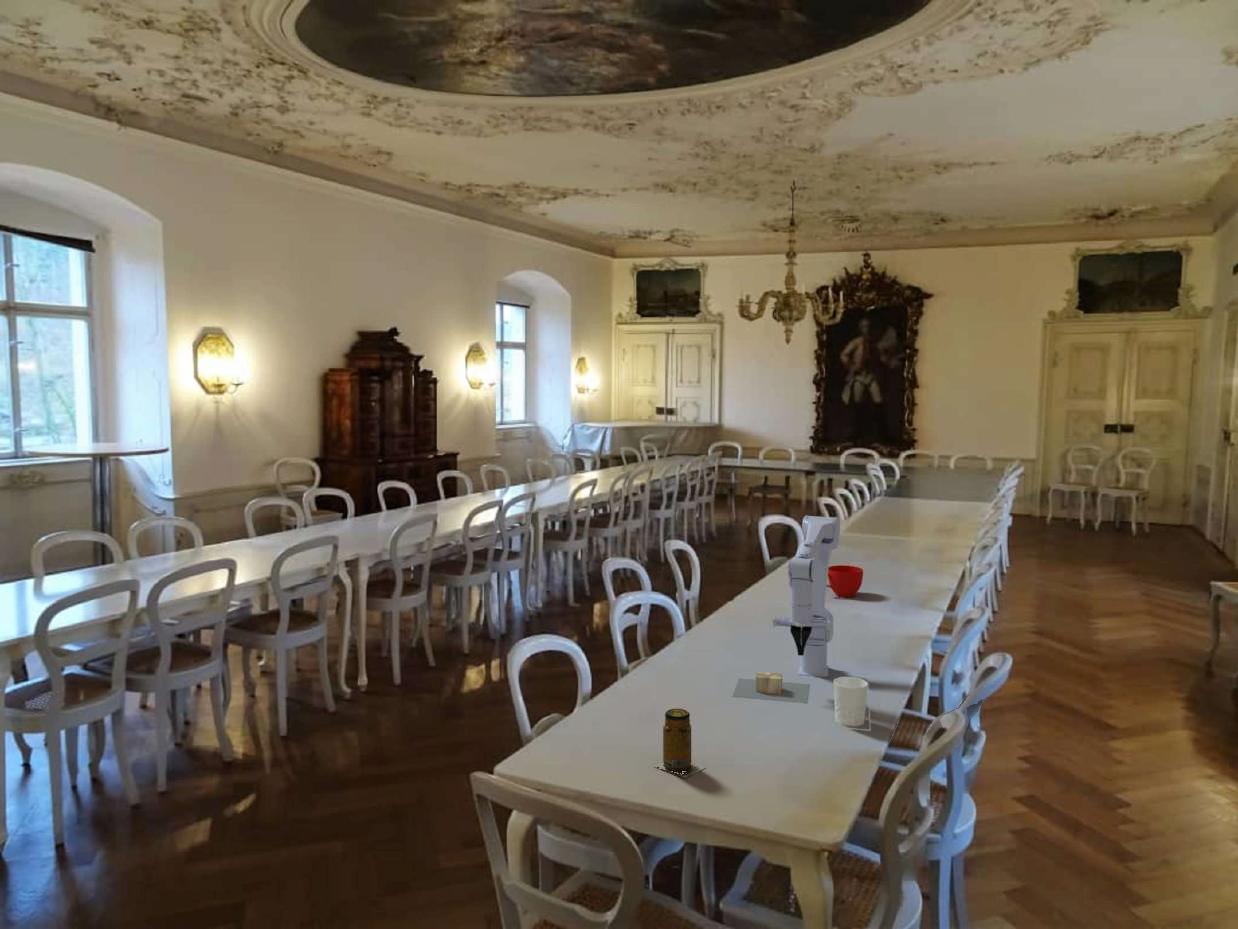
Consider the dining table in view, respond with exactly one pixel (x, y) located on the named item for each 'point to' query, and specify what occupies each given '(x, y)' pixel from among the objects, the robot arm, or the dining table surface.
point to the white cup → (850, 700)
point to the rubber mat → (788, 693)
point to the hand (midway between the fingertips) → (800, 654)
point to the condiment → (678, 744)
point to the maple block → (769, 682)
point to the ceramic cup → (845, 580)
